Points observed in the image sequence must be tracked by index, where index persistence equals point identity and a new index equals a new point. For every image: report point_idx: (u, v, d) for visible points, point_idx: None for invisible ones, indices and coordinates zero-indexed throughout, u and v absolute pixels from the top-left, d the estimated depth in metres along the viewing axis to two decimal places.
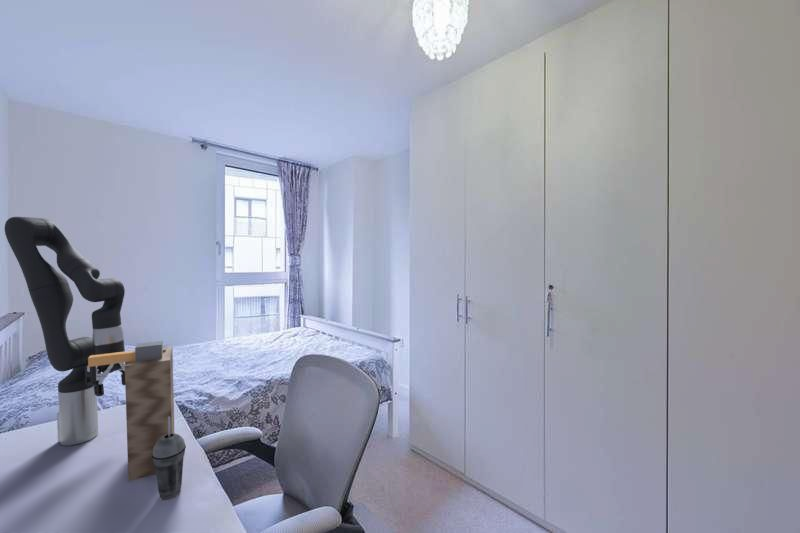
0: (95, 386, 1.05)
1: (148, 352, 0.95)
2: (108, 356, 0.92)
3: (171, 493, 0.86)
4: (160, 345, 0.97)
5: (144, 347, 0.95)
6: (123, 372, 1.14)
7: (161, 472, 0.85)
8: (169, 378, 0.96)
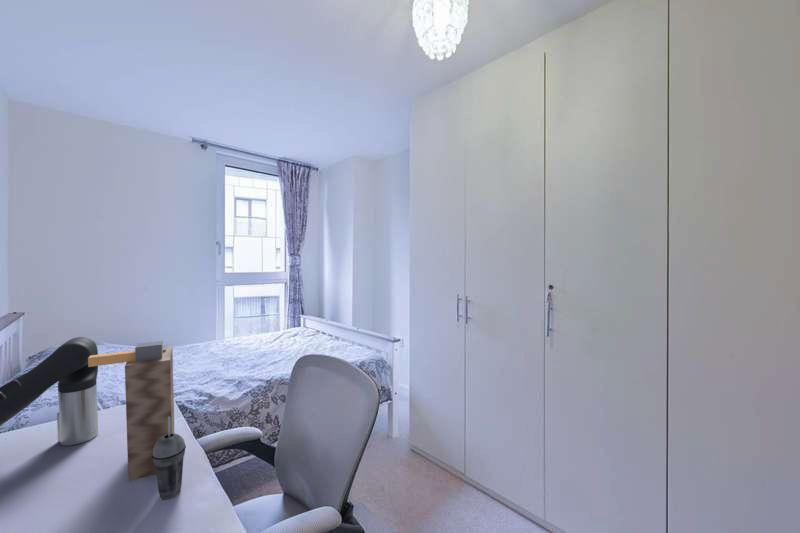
0: None
1: (148, 352, 0.95)
2: (108, 356, 0.92)
3: (171, 493, 0.86)
4: (160, 345, 0.97)
5: (144, 347, 0.95)
6: None
7: (161, 472, 0.85)
8: (169, 378, 0.96)
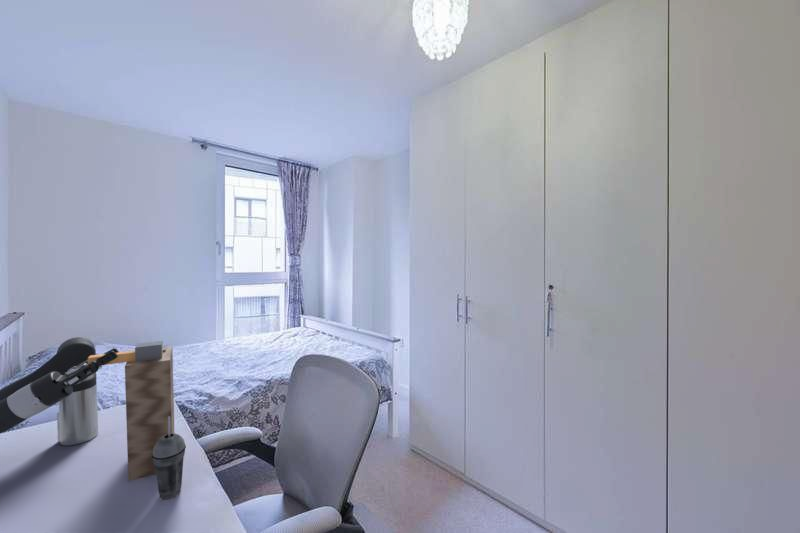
0: (101, 362, 0.90)
1: (148, 352, 0.96)
2: None
3: (171, 493, 0.86)
4: (160, 345, 0.97)
5: (144, 347, 0.95)
6: None
7: (161, 472, 0.85)
8: (169, 378, 0.96)
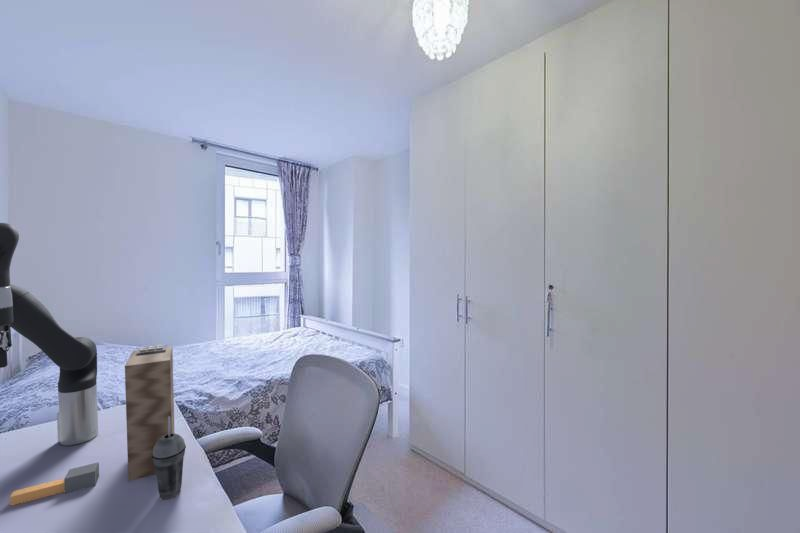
0: None
1: (79, 481, 0.89)
2: (33, 491, 0.85)
3: (171, 493, 0.86)
4: (93, 472, 0.91)
5: (75, 477, 0.89)
6: None
7: (161, 472, 0.85)
8: (169, 378, 0.96)
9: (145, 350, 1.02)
